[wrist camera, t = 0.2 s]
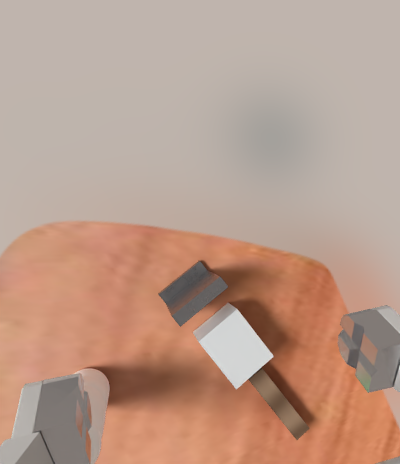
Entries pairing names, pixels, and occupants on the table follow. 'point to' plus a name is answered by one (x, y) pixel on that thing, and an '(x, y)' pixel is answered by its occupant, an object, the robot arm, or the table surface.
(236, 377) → the tunnel block
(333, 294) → the table surface
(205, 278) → the wall
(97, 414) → the water bottle
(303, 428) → the walnut bar
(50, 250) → the table surface
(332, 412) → the table surface
